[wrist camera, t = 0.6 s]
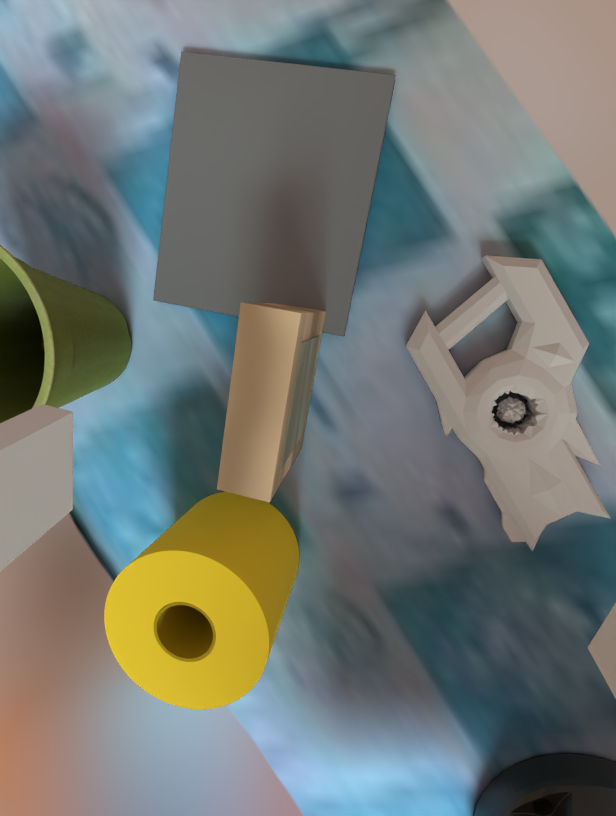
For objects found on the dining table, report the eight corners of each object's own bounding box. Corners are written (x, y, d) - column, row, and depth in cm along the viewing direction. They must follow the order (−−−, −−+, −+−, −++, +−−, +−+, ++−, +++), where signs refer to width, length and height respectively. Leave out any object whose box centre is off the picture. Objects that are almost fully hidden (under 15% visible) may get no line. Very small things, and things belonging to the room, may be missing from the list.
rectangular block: (327, 312, 29) (303, 313, 20) (302, 449, 31) (271, 502, 23) (283, 303, 29) (241, 302, 20) (262, 439, 32) (216, 489, 23)
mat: (344, 336, 29) (343, 336, 29) (157, 300, 31) (153, 300, 31) (395, 80, 26) (395, 75, 26) (185, 57, 28) (181, 51, 28)
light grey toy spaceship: (687, 498, 25) (520, 567, 27) (651, 481, 28) (506, 543, 30) (531, 225, 24) (378, 317, 27) (514, 240, 28) (380, 321, 30)
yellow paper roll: (208, 623, 35) (148, 724, 26) (157, 515, 34) (76, 579, 25) (319, 590, 33) (297, 687, 24) (268, 473, 32) (224, 527, 23)
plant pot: (21, 404, 34) (-145, 434, 23) (25, 252, 32) (-156, 208, 21) (156, 430, 33) (47, 475, 22) (170, 272, 31) (55, 236, 20)
